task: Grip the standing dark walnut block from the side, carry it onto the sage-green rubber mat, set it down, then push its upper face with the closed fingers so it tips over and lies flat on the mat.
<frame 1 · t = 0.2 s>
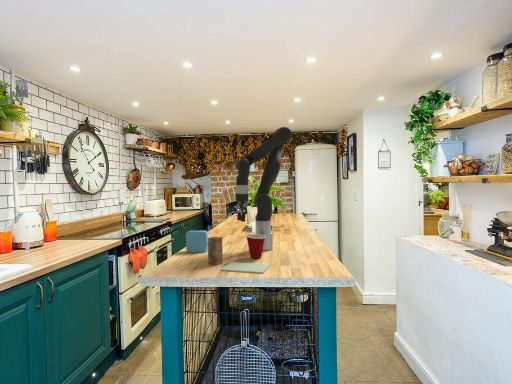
hand: (240, 221, 186), 18 cm above the table, tool pointing down, fingers open, 8 cm apart
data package: (197, 251, 188), on the table
walnut block: (215, 263, 158), on the table
mat: (246, 268, 149), on the table
plastic cup: (256, 258, 170), on the table
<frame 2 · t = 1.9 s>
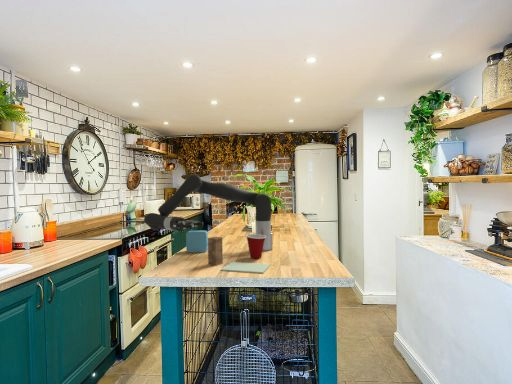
hand: (197, 225, 163), 18 cm above the table, tool horizontal, fingers open, 8 cm apart
nothing on the table moved.
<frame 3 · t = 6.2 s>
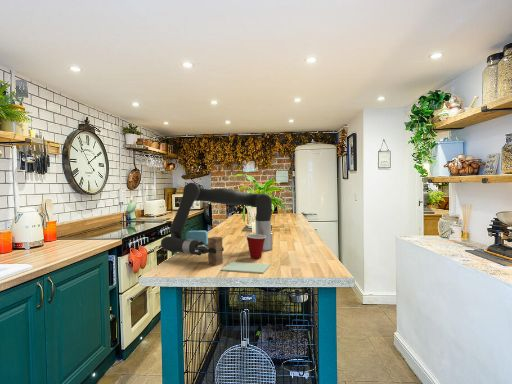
hand: (219, 250, 156), 7 cm above the table, tool horizontal, fingers closed on walnut block, 5 cm apart
walnut block: (215, 263, 158), on the table, touching gripper
everything else where it was.
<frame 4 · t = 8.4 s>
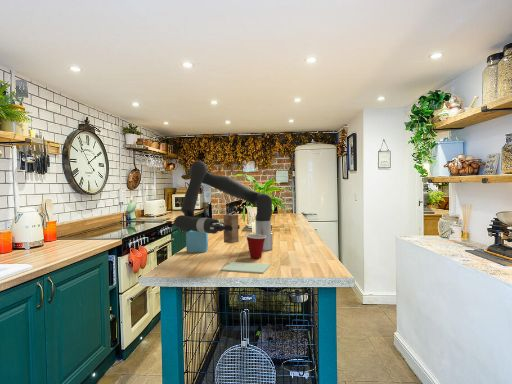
hand: (235, 227, 151), 19 cm above the table, tool horizontal, fingers closed on walnut block, 5 cm apart
walnut block: (231, 242, 152), point 12 cm above the table, touching gripper
everything else where it was.
when the fingers open (9 cm above the table, at t = 11.0 s): walnut block stays where it is, resting on mat.
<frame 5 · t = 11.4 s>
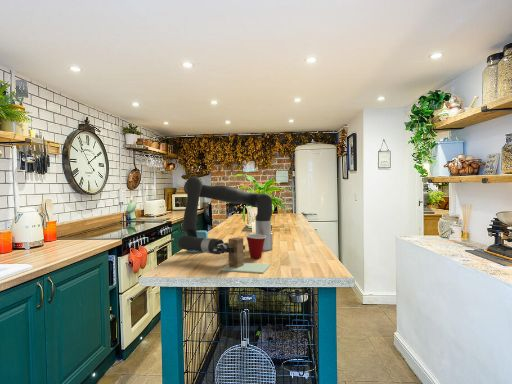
hand: (239, 249, 150), 9 cm above the table, tool horizontal, fingers open, 8 cm apart
walnut block: (236, 266, 151), point 1 cm above the table, touching mat
everything else where it was.
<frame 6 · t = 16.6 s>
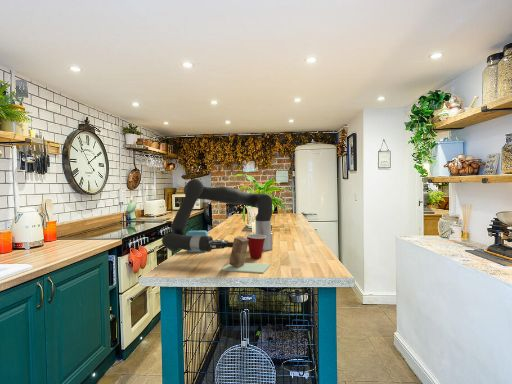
hand: (235, 244, 151), 11 cm above the table, tool horizontal, fingers closed
walnut block: (236, 264, 151), point 1 cm above the table, tilted 14°, touching mat
everything else where it was.
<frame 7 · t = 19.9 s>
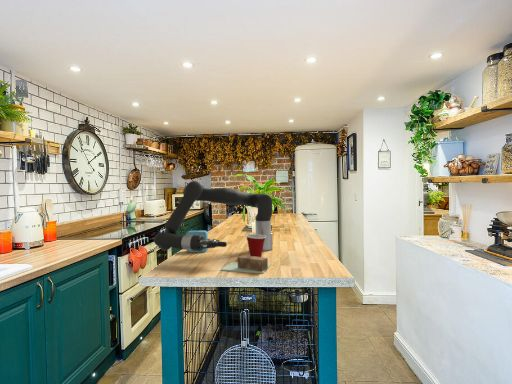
hand: (226, 244, 152), 11 cm above the table, tool horizontal, fingers closed
walnut block: (240, 261, 150), point 3 cm above the table, tilted 90°, touching mat
everything else where it was.
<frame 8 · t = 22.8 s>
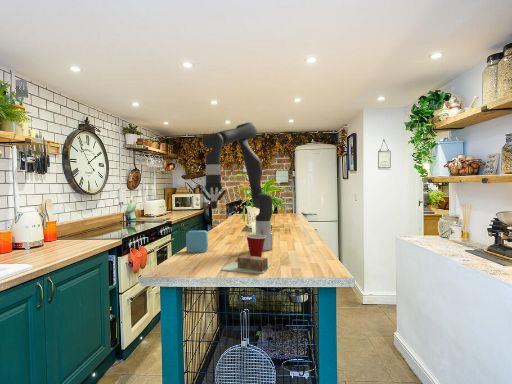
hand: (213, 208, 159), 27 cm above the table, tool pointing down, fingers closed
nothing on the table moved.
at the end: walnut block tilted 90°; walnut block 2.7 cm from the mat (horizontally); the gripper is holding nothing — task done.
